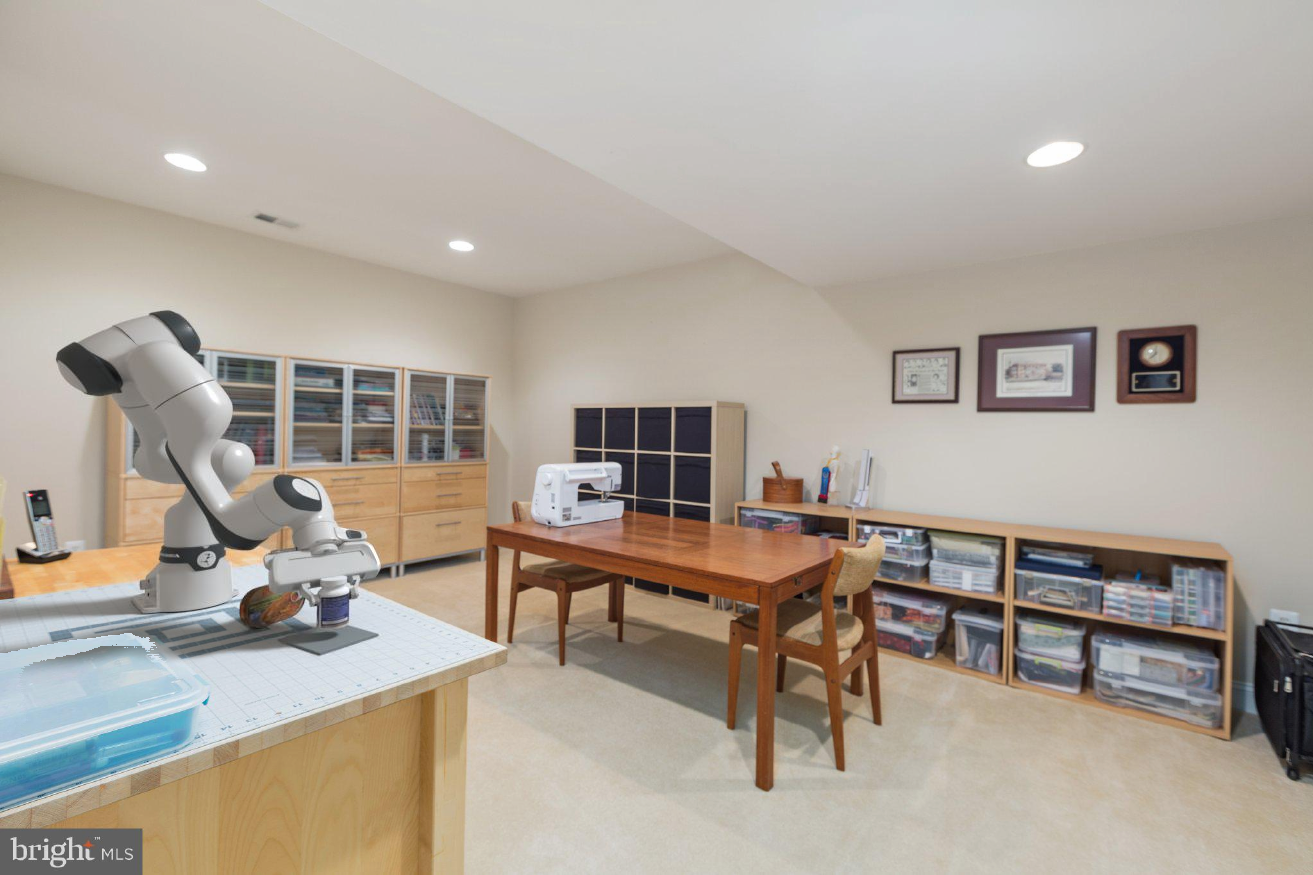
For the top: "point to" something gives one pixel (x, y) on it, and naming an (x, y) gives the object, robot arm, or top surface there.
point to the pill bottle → (333, 604)
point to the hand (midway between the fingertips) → (335, 601)
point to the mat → (327, 639)
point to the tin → (268, 606)
